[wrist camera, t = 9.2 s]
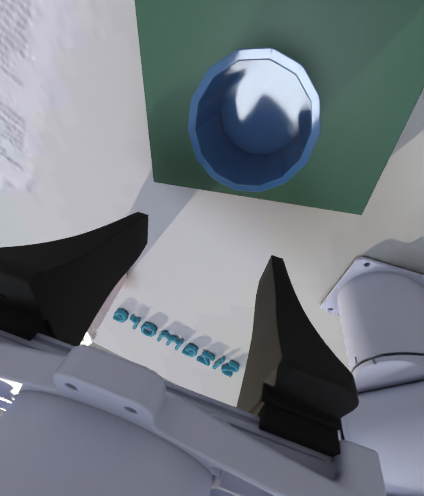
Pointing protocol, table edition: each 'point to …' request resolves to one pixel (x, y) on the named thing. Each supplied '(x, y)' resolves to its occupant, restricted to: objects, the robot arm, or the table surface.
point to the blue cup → (255, 119)
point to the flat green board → (317, 66)
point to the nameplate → (178, 343)
